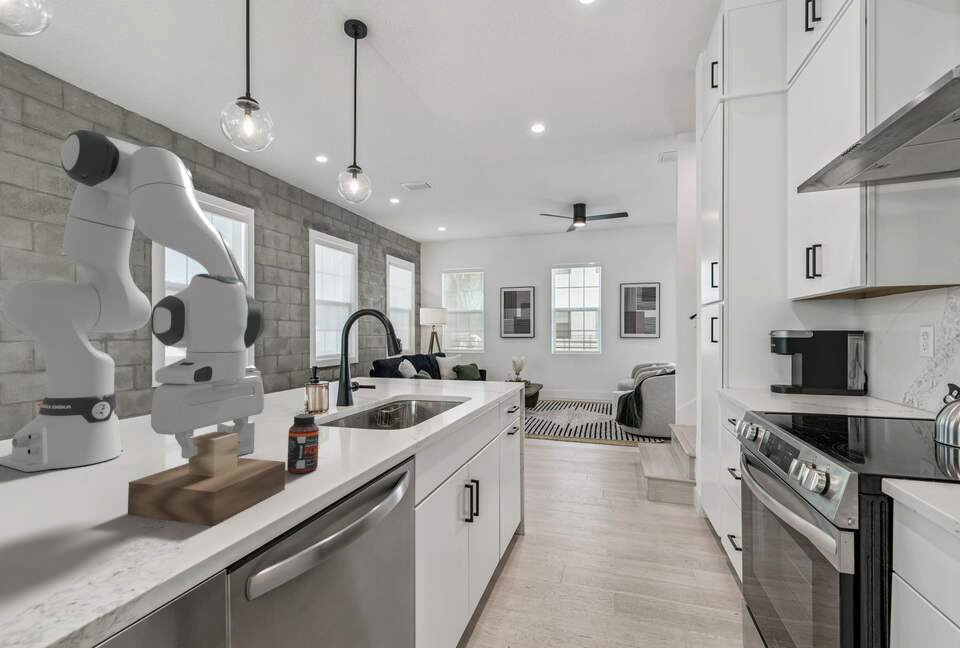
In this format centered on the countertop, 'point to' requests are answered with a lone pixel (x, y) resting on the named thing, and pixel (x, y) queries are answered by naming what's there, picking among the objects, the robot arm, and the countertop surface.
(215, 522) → the walnut base
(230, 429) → the product box
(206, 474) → the maple block
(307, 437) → the supplement bottle
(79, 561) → the countertop surface
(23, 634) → the countertop surface
